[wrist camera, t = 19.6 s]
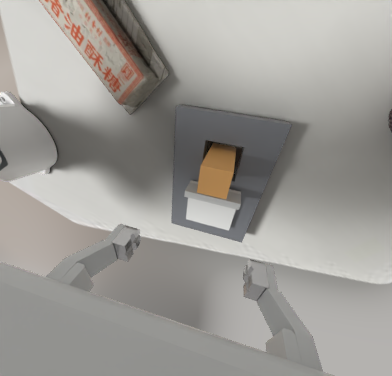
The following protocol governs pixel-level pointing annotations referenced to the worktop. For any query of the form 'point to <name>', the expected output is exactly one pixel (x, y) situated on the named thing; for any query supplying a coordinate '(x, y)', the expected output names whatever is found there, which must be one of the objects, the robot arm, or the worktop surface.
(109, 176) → the worktop surface
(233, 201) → the shutter
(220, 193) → the orange block
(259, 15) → the worktop surface
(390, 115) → the cupcake
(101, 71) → the packaged product
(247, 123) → the socket plate
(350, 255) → the worktop surface
